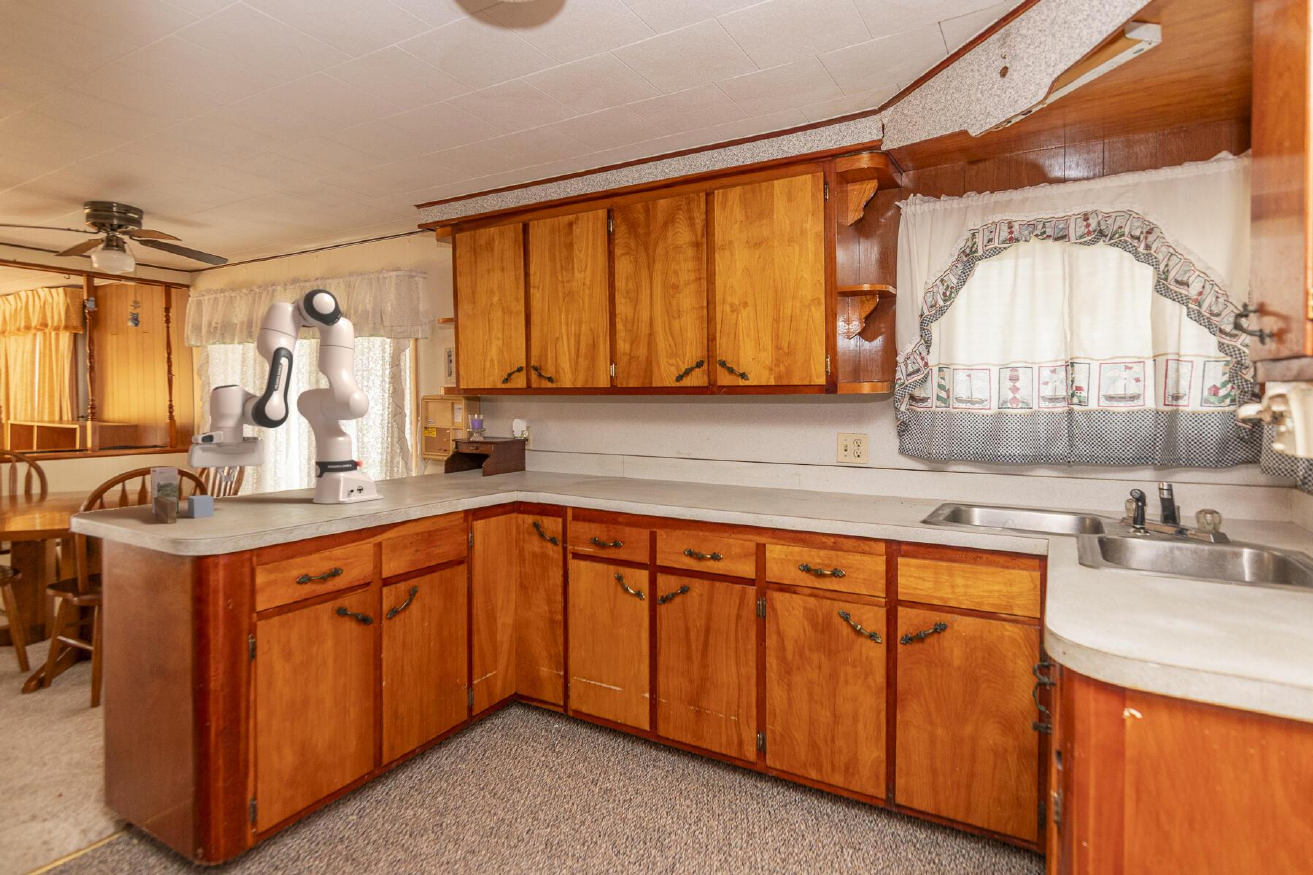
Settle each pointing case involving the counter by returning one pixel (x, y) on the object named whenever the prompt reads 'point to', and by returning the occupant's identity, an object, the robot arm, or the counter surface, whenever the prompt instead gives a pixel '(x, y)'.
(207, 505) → the blue block
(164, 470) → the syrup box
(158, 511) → the walnut board
